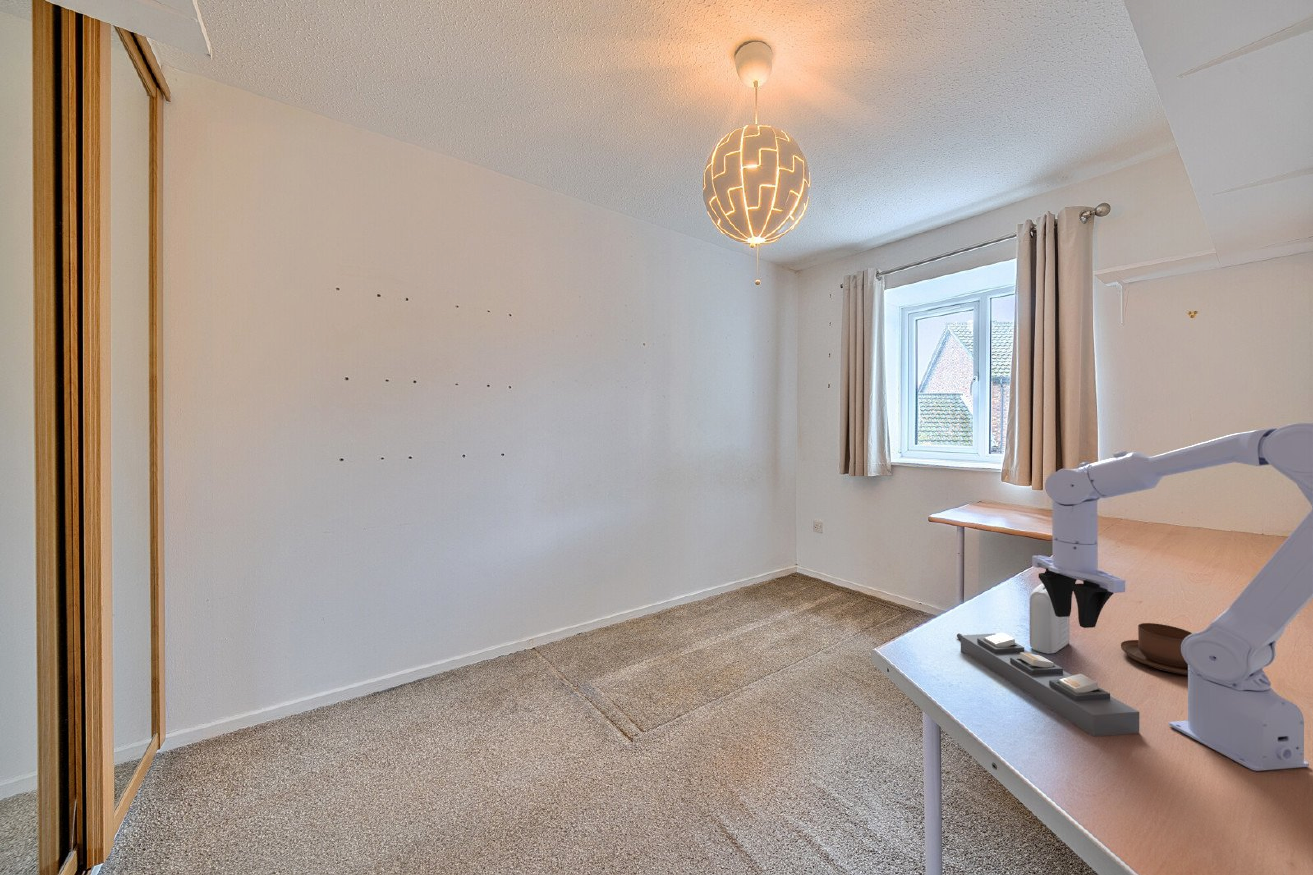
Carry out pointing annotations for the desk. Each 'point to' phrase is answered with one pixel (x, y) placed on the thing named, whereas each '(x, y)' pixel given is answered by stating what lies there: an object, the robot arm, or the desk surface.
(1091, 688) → the rocker
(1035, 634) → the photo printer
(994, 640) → the rocker
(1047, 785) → the desk surface
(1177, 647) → the cup and saucer
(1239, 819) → the desk surface
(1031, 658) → the middle rocker
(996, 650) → the rocker switch panel
